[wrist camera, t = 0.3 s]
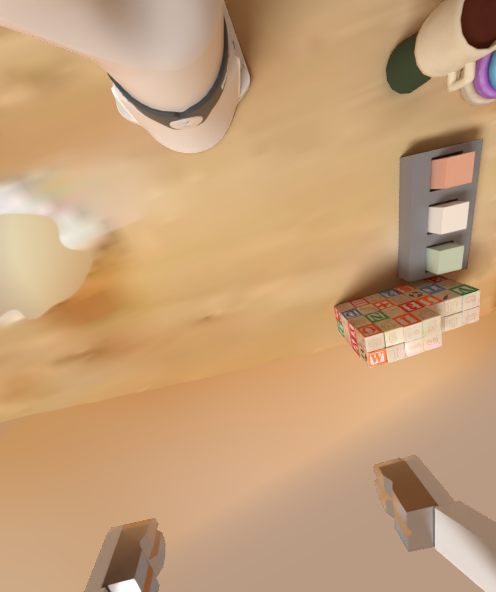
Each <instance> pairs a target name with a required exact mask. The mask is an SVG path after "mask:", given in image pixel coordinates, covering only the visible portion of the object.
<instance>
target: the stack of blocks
mask: <svg viewBox="0 0 496 592" xmlns="http://www.w3.org/2000/svg"><path fill="white" fill-rule="evenodd" d="M479 302H480V290H479V289H476V288H474V287H471V286H468V285H466V284H461V283H459V282H456V281H453V280H451V279H447V278H445V277H442V276H439V275H437V276H432V277H429V278H426V279H423V280H422V279H421V280H418V281H415V282H411V283H409V284H405V285H402V286H398V287H395V288H393V289H390V290H386V291H383V292H380V293H377V294H374V295H370V296H367V297H364V298H360V299H356V300H353V301H350V302H346V303H343V304H340V305H336V306H334V308H335V313H336V319H337V323H338V328H339V332H340V333H341V334H342V335H343V337H344V338H345V339H346V340H347V341H348V343H349V344H350V345H351V346H352V347H353V349H354V350H355V351H356V353H357V354H358V355H359V356H360V357H361V358H362V360H363V361H364V362H365V363H366V364H367V366H368V367H369V368H370V367H374V366H377V365H381V364H384V363H387V362H388V363H390V362H393V361H396V360H400V359H402V358H405V357H409V356H412V355H415V354H418V353H421V352H423V351H427V350H430V349H433V348H436V347H439V346H442V334H441V332H443V331H448V330H451V329H454V328H457V327H461V326H462V325H466V324H469V323H473V322H476V321H478V320H479V309H480V306H479Z"/></svg>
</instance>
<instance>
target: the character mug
mask: <svg viewBox="0 0 496 592" xmlns="http://www.w3.org/2000/svg"><path fill="white" fill-rule="evenodd" d="M495 50H496V0H444V1H442V2H441V3H440V4H439V5H438V6H437V7H436V8H435V9H434V10H433V11H432V13H431V14H430V15H429V16H428V18H427V19H426V20H425V21H424V23H423V24H422V26H421V29H420V31H419V32H417V33H416V34H414V35H412V36H411V37H409V38H408V39H406V40H405V41H403V42H402V43H400V44H399V45H398V46H397V47H396V49H395V50H394V51H393V53H392V54H391V55H390V58H389V61H388V65H387V68H386V73H387V81H388V83H389V85H390V86H391V88H392V89H393V90H395V91H396V92H398V93H400V94H403V93H410V92H412V91H414V90H415V89H417V88H418V87H420V86H421V85H423V84H424V83H426V82H427V81H428V80H429V79H431V78H435V77H447V91H449V92H454V91H456V90H458V89H460V88H462V87H465V86H467V85H468V84H470V83H471V82H472V81H473V80H474V77H475V67H476V61H477V60H479V59H480V58H482V57H484V56H486V55H488V54H489V53H491V52H493V51H495ZM463 67H464V77H463V78H461V79H459V80H457V71H458V70H460V69H461V68H463Z"/></svg>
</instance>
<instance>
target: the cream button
mask: <svg viewBox="0 0 496 592" xmlns="http://www.w3.org/2000/svg"><path fill="white" fill-rule="evenodd" d="M468 210H469V202H468V201H452V202H447V203H443V204H439V205H435V206H431V207H429V211H428V228H427V232H430V233H435V234H445V233H450V232H454V231H458V230H462V229H466V227H467V218H468Z"/></svg>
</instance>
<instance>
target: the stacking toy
mask: <svg viewBox="0 0 496 592" xmlns="http://www.w3.org/2000/svg"><path fill="white" fill-rule="evenodd" d="M463 77H464V67H463V69H462V72H461V76H460V79H461V78H463ZM460 91H461V94H462V96H463V98H464V100H465V101H466V102H467V103H469V104H471V105H474V106H484V105H487V104H490V103H492V102H493V101H495V100H496V50H495V51H493V52H491V53H489V54H488V55H486V56H484V57H482V58H480V59H479V60H477V61H476V67H475V77H474V80H473V81H472V82H471V83H470V84H468V85H467V86H465V87H462V88H460Z"/></svg>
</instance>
